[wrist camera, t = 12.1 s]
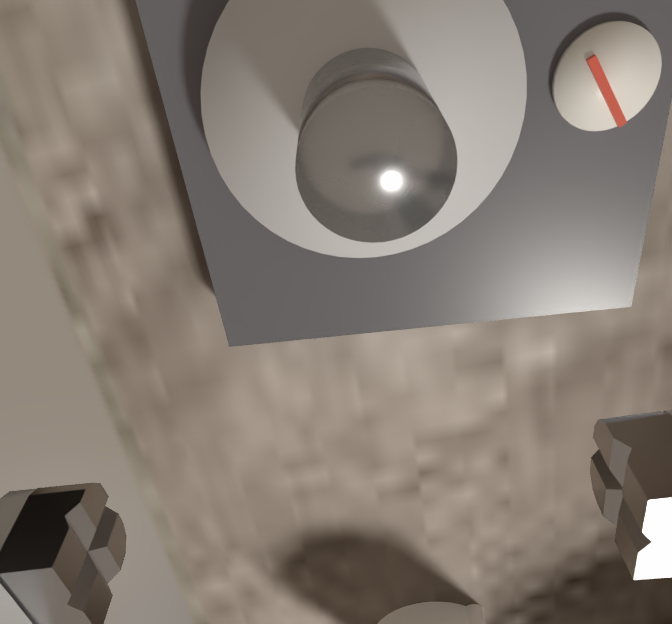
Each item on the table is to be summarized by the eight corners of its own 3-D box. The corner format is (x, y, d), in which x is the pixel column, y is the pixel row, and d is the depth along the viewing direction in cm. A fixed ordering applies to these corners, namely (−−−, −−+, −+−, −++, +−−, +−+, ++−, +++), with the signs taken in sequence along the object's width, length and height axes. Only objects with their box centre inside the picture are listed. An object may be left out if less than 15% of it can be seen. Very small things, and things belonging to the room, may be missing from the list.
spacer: (428, 39, 19) (457, 76, 15) (432, 171, 21) (457, 234, 17) (292, 56, 19) (283, 97, 15) (310, 184, 22) (307, 250, 18)
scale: (706, -316, 17) (788, -364, 14) (608, 277, 28) (643, 322, 25) (100, -221, 18) (53, -248, 15) (236, 315, 29) (225, 363, 26)
